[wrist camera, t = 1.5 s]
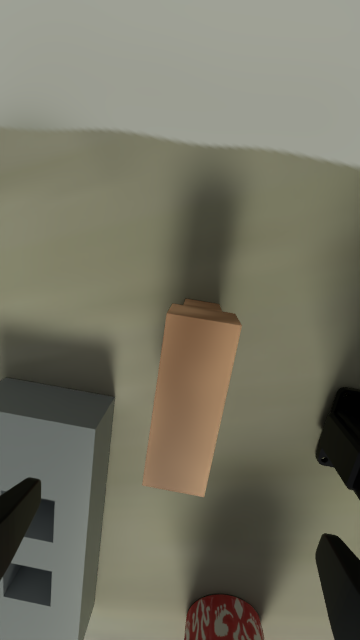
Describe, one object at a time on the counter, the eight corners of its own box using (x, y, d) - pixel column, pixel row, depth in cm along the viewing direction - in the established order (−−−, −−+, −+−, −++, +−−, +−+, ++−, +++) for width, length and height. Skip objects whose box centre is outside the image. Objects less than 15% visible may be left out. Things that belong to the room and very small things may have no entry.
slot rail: (114, 396, 21) (95, 429, 17) (94, 604, 27) (76, 663, 23) (5, 377, 21) (-38, 404, 17) (9, 586, 27) (-23, 641, 23)
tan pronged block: (228, 301, 18) (241, 325, 12) (203, 424, 21) (204, 497, 15) (178, 293, 19) (166, 313, 12) (159, 416, 21) (142, 485, 15)
